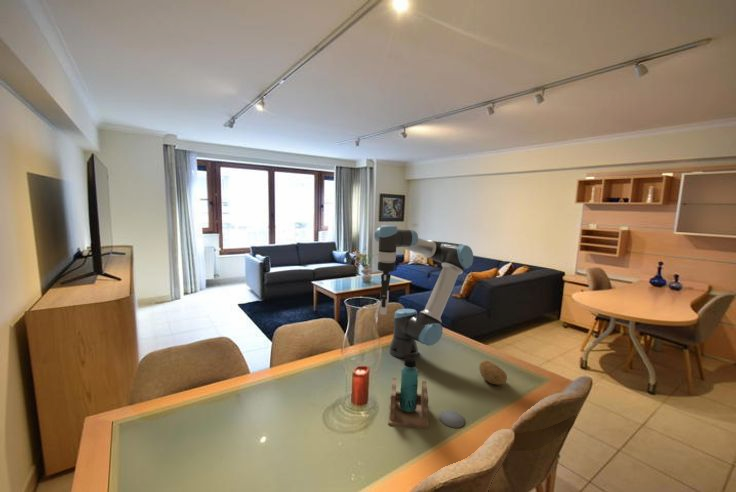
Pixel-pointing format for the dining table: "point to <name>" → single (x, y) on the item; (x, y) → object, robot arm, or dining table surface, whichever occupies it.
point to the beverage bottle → (409, 386)
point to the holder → (409, 418)
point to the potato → (492, 372)
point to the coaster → (452, 419)
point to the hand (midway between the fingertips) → (384, 309)
